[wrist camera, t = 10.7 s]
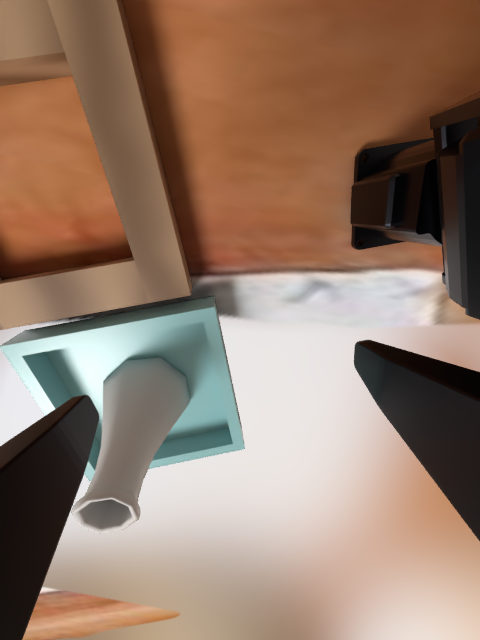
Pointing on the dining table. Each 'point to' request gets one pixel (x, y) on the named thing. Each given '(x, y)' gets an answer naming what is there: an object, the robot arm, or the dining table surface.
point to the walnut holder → (115, 153)
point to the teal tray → (133, 344)
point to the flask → (130, 439)
